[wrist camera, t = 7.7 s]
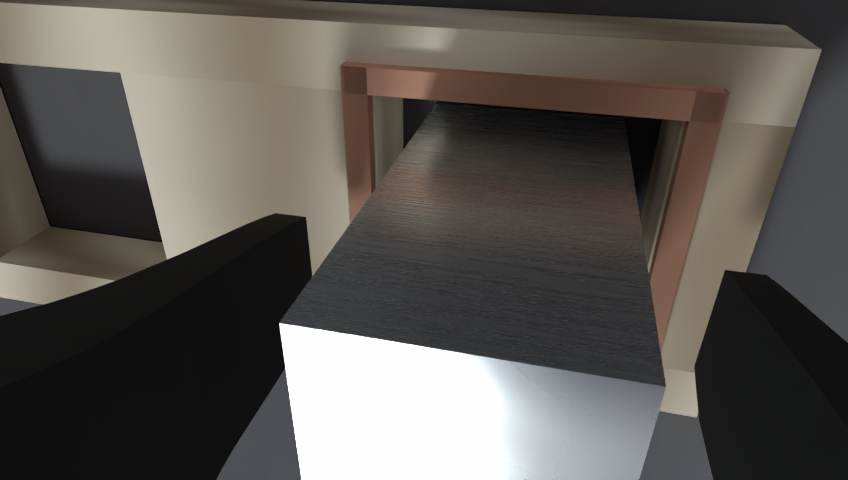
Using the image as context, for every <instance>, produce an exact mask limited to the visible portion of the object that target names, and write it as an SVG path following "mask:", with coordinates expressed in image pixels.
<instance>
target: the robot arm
mask: <svg viewBox="0 0 848 480" xmlns="http://www.w3.org/2000/svg"><path fill="white" fill-rule="evenodd" d="M311 278H312V269H311V259H310V249H309V240H308V230H307V220H306V217H302V216H294V215H286V214H279V213H275V214H272V215H268V216H265V217H263V218H260V219H258V220H255V221H253V222H250V223H248V224H246V225H243V226H241V227H239V228H237V229H234V230H232V231H230V232H228V233H226V234H223V235H221V236H219V237H217V238H215V239H212V240H210V241H208V242H206V243H204V244H201V245H199V246H197V247H195V248H193V249H190V250H188V251H186V252H184V253H182V254H179V255H177V256H175V257H172V258H170V259H167V260H165V261H163V262H160V263H158V264H155V265H153V266H150V267H148V268H146V269H143V270H141V271H138V272H136V273H134V274H131V275H129V276H126V277H124V278H121V279H119V280H116V281H113V282H111V283H108V284H105V285H102V286H99V287H97V288H94V289H91V290H88V291H85V292H82V293H79V294H76V295H73V296H70V297H66V298H63V299H60V300H57V301H54V302H51V303H47V304H44V305H40V306H37V307H33V308H29V309H25V310H21V311H18V312H14V313H10V314H6V315H3V316H0V480H216V479H217V477H218V475H219V473H220V471H221V469H222V467H223V466H224V464H225V462H226V460H227V459H228V457H229V455H230V454H231V452H232V450H233V448H234V447H235V445H236V444H237V442H238V441H239V439H240V437H241V436H242V434H243V433H244V431H245V430H246V428H247V427H248V425H249V423H250V422H251V420H252V419H253V417H254V416H255V414H256V413H257V411H258V409H259V408H260V406H261V405H262V403H263V402H264V400H265V399H266V397H267V396H268V394H269V392H270V391H271V389H272V388H273V386H274V385H275V383H276V382H277V380H278V378H279V377H280V375H281V374H282V372H283V370H284V369H285V360H284V353H283V346H282V340H281V333H280V326H279V322H280V321H281V320H282V318H283V317H284V315H285V314H286V313H287V311H288V310H289V308H290V307H291V306H292V304H293V303H294V301H295V300H296V299H297V297H298V296H299V294H300V293H301V292H302V290H303V289H304V288H305V286H306V285H307V283H308V282H309V281H310V279H311ZM694 370H695V381H696V393H697V403H698V412H699V421H700V425H701V430H702V434H703V438H704V442H705V447H706V451H707V455H708V459H709V463H710V467H711V471H712V475H713V479H714V480H848V343H847V342H846V341H845V340H844V339H842V338H841V337H840V336H839V335H838V334H837V333H835V332H834V331H833V330H832V329H831V328H830V327H828V326H827V325H826V324H825V323H824V322H823V321H821V320H820V319H819V318H818V317H817V316H816V315H814V314H813V313H812V312H811V311H810V310H809V309H807V308H806V307H805V306H804V305H803V304H802V303H801V302H799V301H798V300H797V299H796V298H795V297H793V296H792V295H791V294H790V293H789V292H788V291H786V290H785V289H784V288H783V287H781V286H780V285H779V284H778V283H776V282H775V281H774V280H772V279H771V278H770V277H768V276H767V275H761V274H753V273H746V272H738V271H730V270H725V271H724V275H723V278H722V281H721V284H720V287H719V290H718V293H717V297H716V300H715V303H714V306H713V309H712V312H711V315H710V318H709V322H708V325H707V328H706V331H705V334H704V337H703V340H702V344H701V347H700V350H699V353H698V356H697V359H696V362H695V365H694Z"/></svg>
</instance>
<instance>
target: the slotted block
mask: <svg viewBox="0 0 848 480" xmlns="http://www.w3.org/2000/svg"><path fill="white" fill-rule="evenodd" d="M821 51H822V49H820V48H819V47H817V46H816V45H814V44H813V43H811V42H810V41H808V40H807V39H806V38H804V37H803V36H801V35H800V34H798V33H797V32H795V31H794V30H792V29H791V28H789V27H788V26H787V25H776V24H757V23H737V22H717V21H697V20H678V19H658V18H638V17H618V16H599V15H579V14H559V13H539V12H519V11H500V10H480V9H460V8H440V7H421V6H401V5H381V4H361V3H342V2H322V1H302V0H0V63H9V64H21V65H33V66H46V67H58V68H71V69H83V70H95V71H108V72H120V73H121V77H122V81H123V85H124V89H125V93H126V97H127V101H128V105H129V109H130V113H131V117H132V121H133V125H134V129H135V133H136V137H137V141H138V145H139V149H140V153H141V157H142V162H143V166H144V170H145V174H146V178H147V182H148V186H149V190H150V194H151V198H152V202H153V206H154V210H155V214H156V218H157V222H158V226H159V230H160V234H161V238H162V242H163V243H162V242H155V241H148V240H141V239H134V238H127V237H120V236H113V235H106V234H99V233H92V232H85V231H78V230H71V229H64V228H57V227H50V225H49V222H48V219H47V217H46V214H45V211H44V208H43V205H42V203H41V200H40V197H39V194H38V191H37V189H36V186H35V183H34V180H33V177H32V174H31V172H30V169H29V166H28V163H27V160H26V158H25V155H24V152H23V149H22V146H21V144H20V141H19V138H18V135H17V132H16V130H15V127H14V124H13V121H12V118H11V116H10V113H9V110H8V107H7V104H6V101H5V99H4V96H3V93H2V90H1V87H0V297H3V298H9V299H15V300H20V301H26V302H32V303H38V304H47V303H51V302H54V301H57V300H60V299H63V298H66V297H70V296H73V295H76V294H79V293H82V292H85V291H88V290H91V289H94V288H97V287H99V286H102V285H105V284H108V283H111V282H113V281H116V280H119V279H121V278H124V277H126V276H129V275H131V274H134V273H136V272H138V271H141V270H143V269H146V268H148V267H150V266H153V265H155V264H158V263H160V262H163V261H165V260H167V259H170V258H172V257H175V256H177V255H179V254H182V253H184V252H186V251H188V250H190V249H193V248H195V247H197V246H199V245H201V244H204V243H206V242H208V241H210V240H212V239H215V238H217V237H219V236H221V235H223V234H226V233H228V232H230V231H232V230H234V229H237V228H239V227H241V226H243V225H246V224H248V223H250V222H253V221H255V220H258V219H260V218H263V217H265V216H268V215H272V214H275V213H279V214H286V215H294V216H302V217H306V220H307V230H308V240H309V249H310V259H311V269H312V276H313V275H314V274H315V272H316V271H317V269H318V268H319V267H320V265H321V264H322V262H323V261H324V260H325V258H326V257H327V255H328V254H329V253H330V251H331V250H332V248H333V247H334V246H335V244H336V243H337V241H338V240H339V239H340V237H341V236H342V234H343V233H344V232H345V230H346V229H347V228H348V226H349V225H350V223H351V222H352V221H353V219H354V218H355V216H356V215H357V214H358V212H359V211H360V209H361V208H362V207H363V205H364V204H365V202H366V201H367V200H368V198H369V197H370V195H371V194H372V193H373V191H374V190H375V188H376V187H377V186H378V184H379V183H380V181H381V180H382V179H383V177H384V176H385V175H386V173H387V172H388V170H389V169H390V168H391V166H392V165H393V163H394V162H395V161H396V159H397V158H398V156H399V155H400V154H401V152H402V151H403V98H411V99H423V100H435V101H447V102H460V103H472V104H484V105H496V106H509V107H521V108H533V109H545V110H557V111H570V112H582V113H594V114H606V115H619V116H631V117H643V118H655V119H662V123H661V128H660V132H659V137H658V141H657V146H656V150H655V155H654V159H653V164H652V168H651V173H650V177H649V182H648V186H647V191H646V195H645V200H644V205H643V209H642V214H641V218H640V222H641V228H642V235H643V241H644V248H645V254H646V260H647V267H648V273H649V280H650V286H651V293H652V299H653V305H654V312H655V318H656V325H657V331H658V338H659V344H660V350H661V357H662V363H663V370H664V376H665V383H666V389H665V393H664V396H663V399H662V403H661V406H660V410H659V411H663V412H668V413H674V414H680V415H686V416H691V417H697V414H698V403H697V393H696V381H695V370H694V365H695V362H696V359H697V356H698V353H699V350H700V347H701V344H702V340H703V337H704V334H705V331H706V328H707V325H708V322H709V318H710V315H711V312H712V309H713V306H714V303H715V300H716V297H717V293H718V290H719V287H720V284H721V281H722V278H723V275H724V271H725V270H730V271H738V272H746V270H747V267H748V264H749V262H750V259H751V256H752V253H753V250H754V247H755V244H756V241H757V238H758V235H759V232H760V229H761V226H762V223H763V221H764V218H765V215H766V212H767V209H768V206H769V203H770V200H771V197H772V194H773V191H774V188H775V185H776V182H777V180H778V177H779V174H780V171H781V168H782V165H783V162H784V159H785V156H786V153H787V150H788V147H789V144H790V141H791V138H792V136H793V133H794V130H795V127H796V124H797V121H798V118H799V115H800V112H801V109H802V106H803V103H804V100H805V97H806V95H807V92H808V89H809V86H810V83H811V80H812V77H813V74H814V71H815V68H816V65H817V62H818V59H819V56H820V54H821Z"/></svg>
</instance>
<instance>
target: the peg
mask: <svg viewBox="0 0 848 480" xmlns="http://www.w3.org/2000/svg"><path fill="white" fill-rule="evenodd" d="M279 326H280V333H281V340H282V346H283V353H284V360H285V367H286V374H287V381H288V388H289V395H290V401H291V408H292V415H293V422H294V429H295V436H296V443H297V449H298V456H299V463H300V470H301V477H302V480H639V478H640V475H641V471H642V468H643V464H644V461H645V458H646V454H647V451H648V447H649V444H650V440H651V437H652V434H653V430H654V427H655V423H656V420H657V416H658V413H659V410H660V406H661V403H662V399H663V396H664V393H665V389H666V383H665V376H664V370H663V363H662V357H661V350H660V344H659V338H658V331H657V325H656V318H655V312H654V305H653V299H652V293H651V286H650V280H649V273H648V267H647V260H646V254H645V248H644V241H643V235H642V228H641V222H640V215H639V209H638V202H637V196H636V190H635V183H634V177H633V170H632V164H631V157H630V151H629V145H628V138H627V132H626V125H625V119H624V118H615V117H603V116H591V115H578V114H566V113H554V112H542V111H530V110H517V109H505V108H493V107H481V106H469V105H457V104H444V103H436V105H435V106H434V108H433V109H432V110H431V112H430V113H429V115H428V116H427V117H426V119H425V120H424V121H423V123H422V124H421V126H420V127H419V128H418V130H417V131H416V133H415V134H414V135H413V137H412V138H411V140H410V141H409V142H408V144H407V145H406V147H405V148H404V149H403V151H402V152H401V154H400V155H399V156H398V158H397V159H396V161H395V162H394V163H393V165H392V166H391V168H390V169H389V170H388V172H387V173H386V175H385V176H384V177H383V179H382V180H381V181H380V183H379V184H378V186H377V187H376V188H375V190H374V191H373V193H372V194H371V195H370V197H369V198H368V200H367V201H366V202H365V204H364V205H363V207H362V208H361V209H360V211H359V212H358V214H357V215H356V216H355V218H354V219H353V221H352V222H351V223H350V225H349V226H348V228H347V229H346V230H345V232H344V233H343V234H342V236H341V237H340V239H339V240H338V241H337V243H336V244H335V246H334V247H333V248H332V250H331V251H330V253H329V254H328V255H327V257H326V258H325V260H324V261H323V262H322V264H321V265H320V267H319V268H318V269H317V271H316V272H315V274H314V275H313V276H312V278H311V279H310V281H309V282H308V283H307V285H306V286H305V288H304V289H303V290H302V292H301V293H300V294H299V296H298V297H297V299H296V300H295V301H294V303H293V304H292V306H291V307H290V308H289V310H288V311H287V313H286V314H285V315H284V317H283V318H282V320H281V321H280V322H279Z"/></svg>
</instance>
